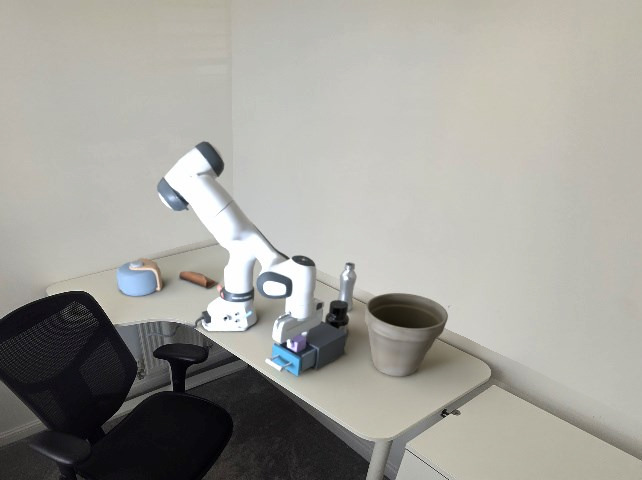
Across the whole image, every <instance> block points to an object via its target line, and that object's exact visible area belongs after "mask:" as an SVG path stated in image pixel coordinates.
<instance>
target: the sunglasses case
mask: <svg viewBox="0 0 642 480" xmlns="http://www.w3.org/2000/svg"><path fill="white" fill-rule="evenodd" d="M178 278H179V279H182V280H185V281H189V282H191V283H194V284H197V285H199V286H202V287H204V288H206V289H210V288H212V287H214V286H216V285H217V284H218V282H217V281H216V280H214V279H212V278H210V277H209V276H205V274H202V273H199V272H196V271H190V270H189V271H188V270H182V271H180V272H179V275H178Z"/></svg>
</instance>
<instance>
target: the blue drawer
mask: <svg viewBox="0 0 642 480" xmlns="http://www.w3.org/2000/svg"><path fill="white" fill-rule="evenodd" d="M316 356H317V349H316V348H314V347H312V346H310V345H308V344H307V343H306V348H305V349H303V350H301V351H299V352H297V353H296V352H294V351H292V350H291V349H289V348H287V341H285V342H283V343H279V344H278V343H276V342H275V343H272V354H271V357H270V358H269V357H267V358H266V359H265V363H267V364H268V365H270V366H272V368H274V369H276V370H278V371H279V372H283V371H284V369H285V370H287V371H288V372H290V373H291V374H292V375H295V376H296V377H300V376H301V373H302V372H304V371H306V370H308V369H309V368H311V367H312V366H313V365H315V364H316Z"/></svg>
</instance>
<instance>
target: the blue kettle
mask: <svg viewBox="0 0 642 480" xmlns="http://www.w3.org/2000/svg"><path fill="white" fill-rule="evenodd" d="M116 270H117V271H116V273H115V274H116V277H115V278H116V283H117V287H118V289H119V290H120V291H121V292H122V294H124V295H127V296H132V297H133V296H134V297H140V296H146V295H149V294H153V293H155V292H156V291H161V290H162V289H163V287H164V286H163V280H162V272H161V269H160V267H159V266H158V263H157V262H156V261H154V260H152V259H150V258H143V257H140V258H138V259H136V260H133V261H129V262H126V263H124V264H122V265H120V266H119V267H118V269H116Z"/></svg>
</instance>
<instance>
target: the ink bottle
mask: <svg viewBox="0 0 642 480" xmlns="http://www.w3.org/2000/svg"><path fill="white" fill-rule="evenodd" d="M347 310H348V303H347V302H345V301H342V300H338V299H334V300H332V301H330V302H329V308H328V313H327V314H326V315H325V319H324V322H325V323H327V324H329V325H331V326H333V327H335V328H337V329H339V330H341V331H343V332H345V333H347V334H348V329H349V322H350V317H349V315H348V311H349V310H348V311H347Z"/></svg>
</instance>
